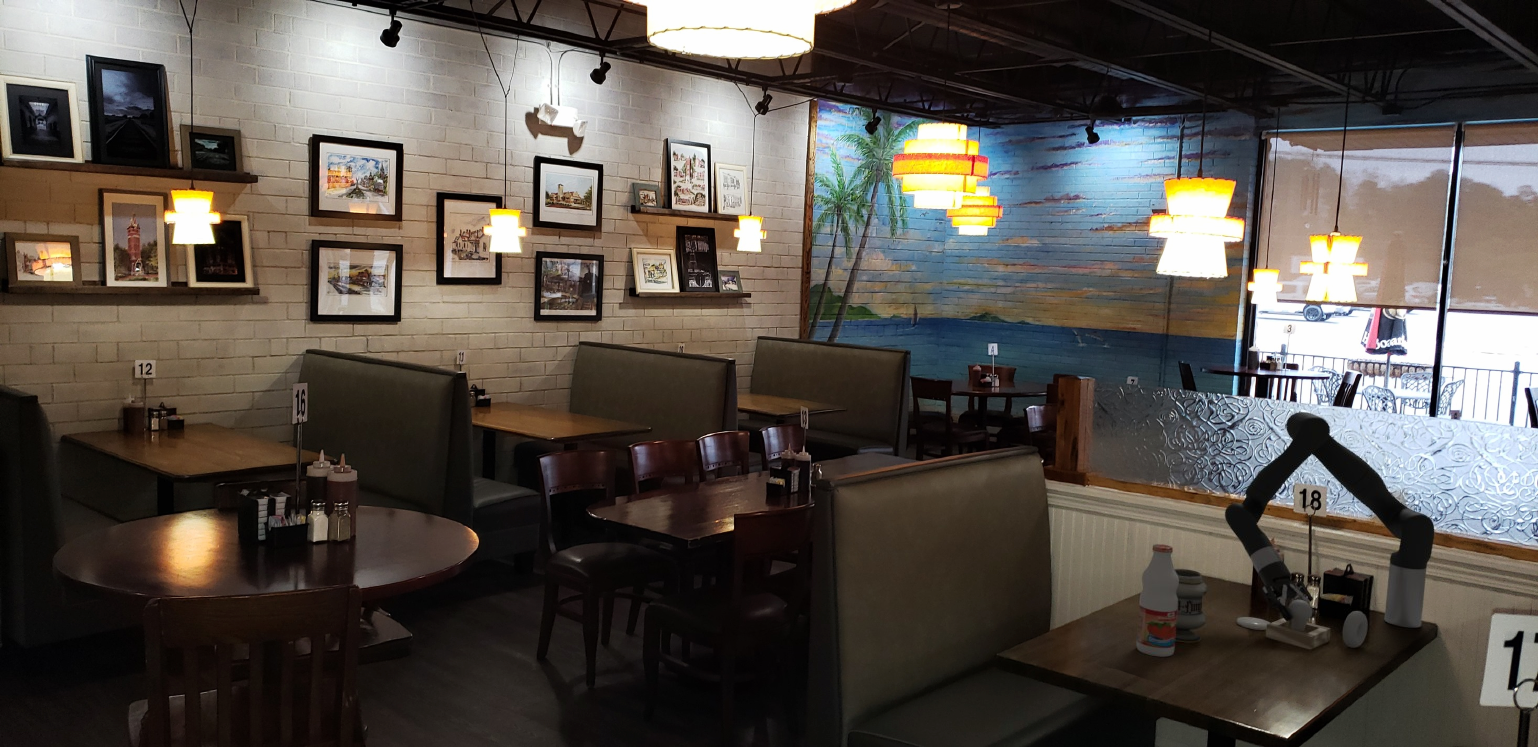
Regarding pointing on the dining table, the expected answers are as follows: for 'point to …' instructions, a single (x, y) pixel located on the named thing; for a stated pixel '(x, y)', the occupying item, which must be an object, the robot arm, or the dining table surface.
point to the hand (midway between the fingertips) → (1301, 618)
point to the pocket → (1298, 634)
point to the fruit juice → (1158, 605)
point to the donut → (1355, 629)
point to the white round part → (1252, 623)
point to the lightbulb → (1300, 614)
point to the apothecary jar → (1189, 605)
